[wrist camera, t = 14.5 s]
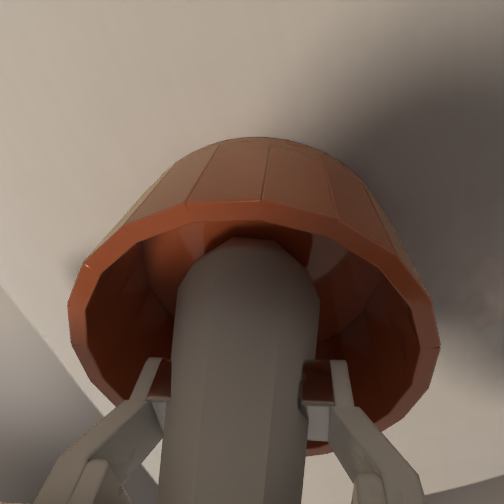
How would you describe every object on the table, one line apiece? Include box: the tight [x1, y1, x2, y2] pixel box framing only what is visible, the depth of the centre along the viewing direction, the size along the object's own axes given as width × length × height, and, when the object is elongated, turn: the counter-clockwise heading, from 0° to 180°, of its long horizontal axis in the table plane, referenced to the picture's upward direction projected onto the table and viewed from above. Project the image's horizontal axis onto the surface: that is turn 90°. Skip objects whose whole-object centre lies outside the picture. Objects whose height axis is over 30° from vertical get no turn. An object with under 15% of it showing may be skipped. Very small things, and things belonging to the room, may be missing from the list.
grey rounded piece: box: [157, 237, 321, 504], centre depth 11 cm, size 6×6×13 cm
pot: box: [67, 138, 441, 456], centre depth 14 cm, size 12×12×6 cm
